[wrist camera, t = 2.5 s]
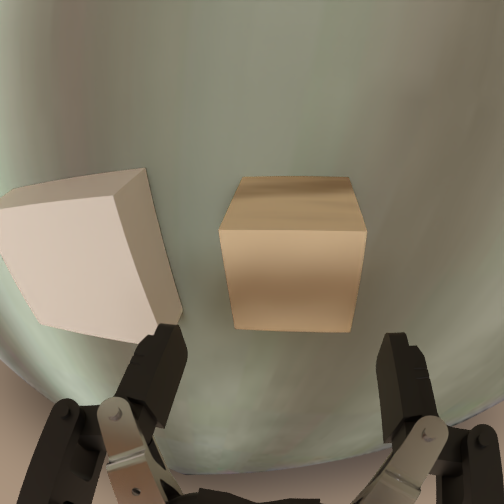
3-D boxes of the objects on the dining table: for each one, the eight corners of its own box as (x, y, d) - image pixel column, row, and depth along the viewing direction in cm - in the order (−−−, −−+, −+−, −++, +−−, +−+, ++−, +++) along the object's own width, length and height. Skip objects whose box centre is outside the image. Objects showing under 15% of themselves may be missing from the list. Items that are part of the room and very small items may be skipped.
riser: (13, 188, 20) (-18, 212, 17) (145, 167, 18) (113, 195, 15) (60, 296, 27) (40, 323, 24) (183, 310, 25) (167, 348, 21)
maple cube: (242, 176, 18) (218, 230, 13) (348, 176, 17) (367, 231, 12) (251, 261, 21) (235, 328, 16) (341, 262, 20) (349, 332, 15)
